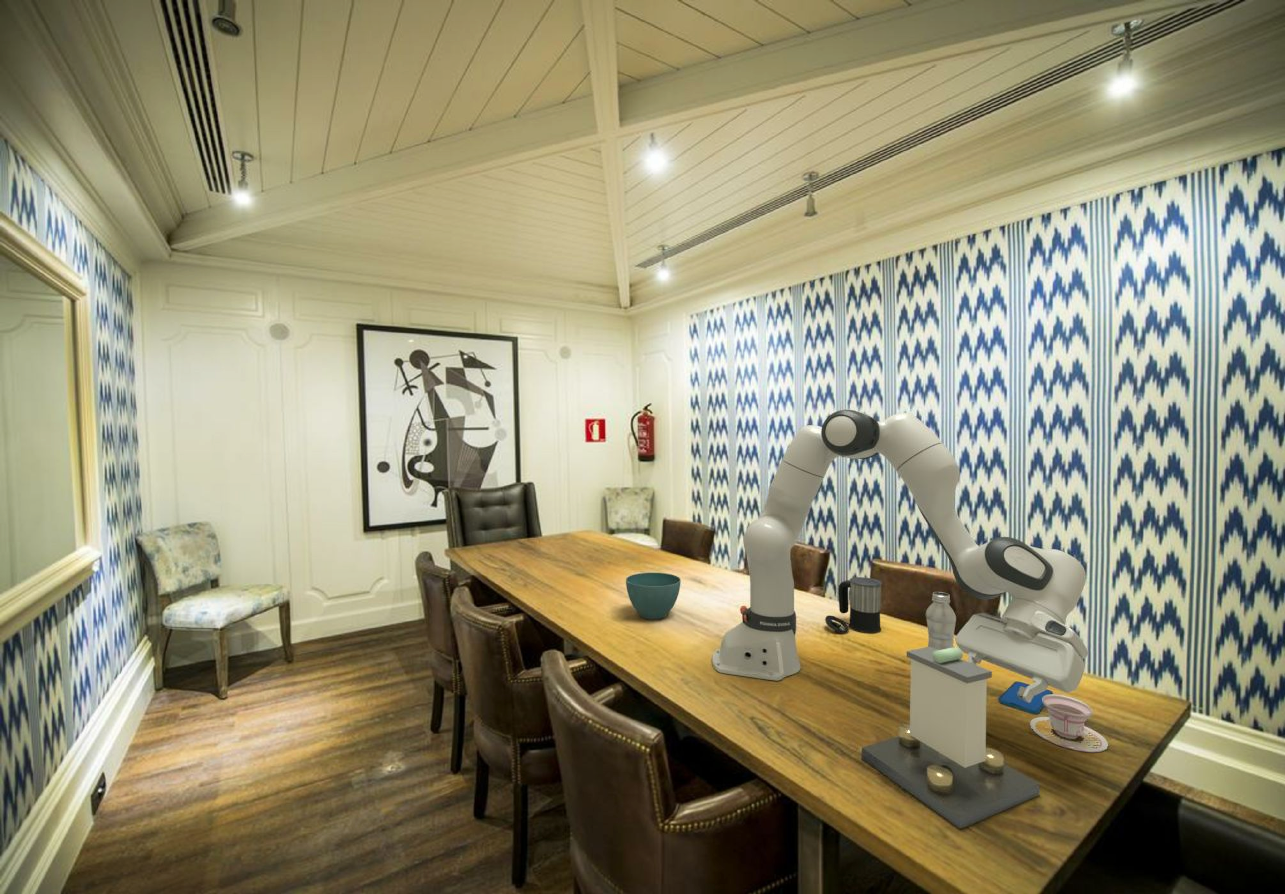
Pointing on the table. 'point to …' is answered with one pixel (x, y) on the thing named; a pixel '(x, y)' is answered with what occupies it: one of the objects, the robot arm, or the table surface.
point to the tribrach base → (965, 782)
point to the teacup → (1069, 723)
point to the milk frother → (858, 605)
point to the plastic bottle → (940, 622)
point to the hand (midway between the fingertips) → (995, 687)
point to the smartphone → (1014, 701)
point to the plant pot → (653, 593)
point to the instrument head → (948, 704)
